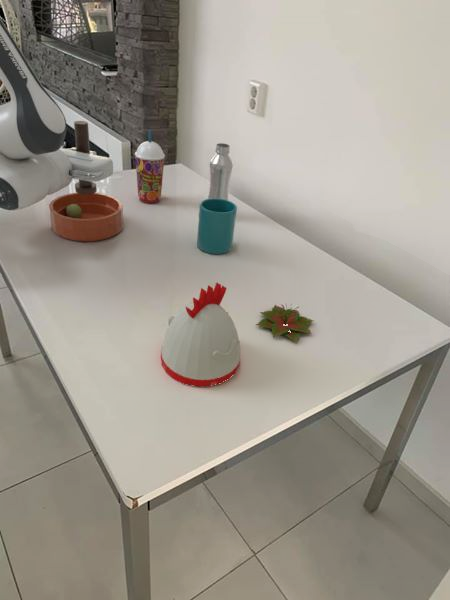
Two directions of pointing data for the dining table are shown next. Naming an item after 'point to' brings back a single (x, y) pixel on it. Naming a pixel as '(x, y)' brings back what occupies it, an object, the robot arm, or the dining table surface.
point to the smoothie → (149, 171)
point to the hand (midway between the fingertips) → (85, 152)
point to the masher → (83, 147)
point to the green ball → (74, 211)
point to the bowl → (87, 217)
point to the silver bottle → (220, 172)
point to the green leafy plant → (285, 322)
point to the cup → (216, 225)
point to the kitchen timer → (201, 342)
